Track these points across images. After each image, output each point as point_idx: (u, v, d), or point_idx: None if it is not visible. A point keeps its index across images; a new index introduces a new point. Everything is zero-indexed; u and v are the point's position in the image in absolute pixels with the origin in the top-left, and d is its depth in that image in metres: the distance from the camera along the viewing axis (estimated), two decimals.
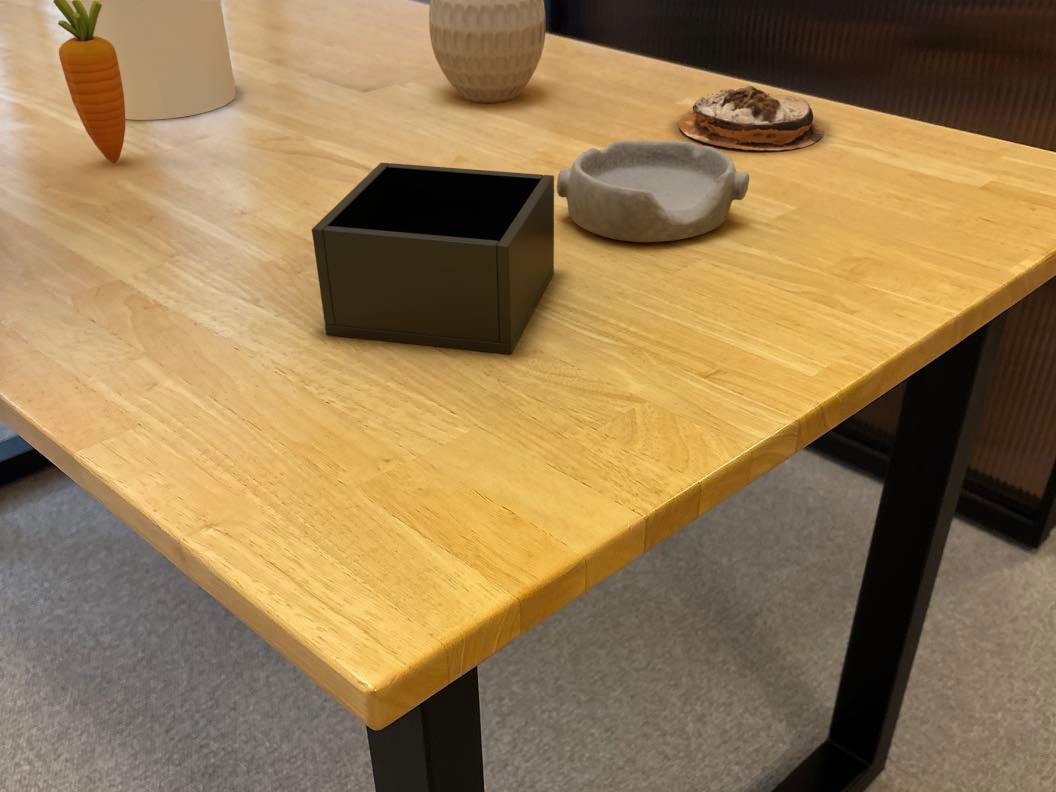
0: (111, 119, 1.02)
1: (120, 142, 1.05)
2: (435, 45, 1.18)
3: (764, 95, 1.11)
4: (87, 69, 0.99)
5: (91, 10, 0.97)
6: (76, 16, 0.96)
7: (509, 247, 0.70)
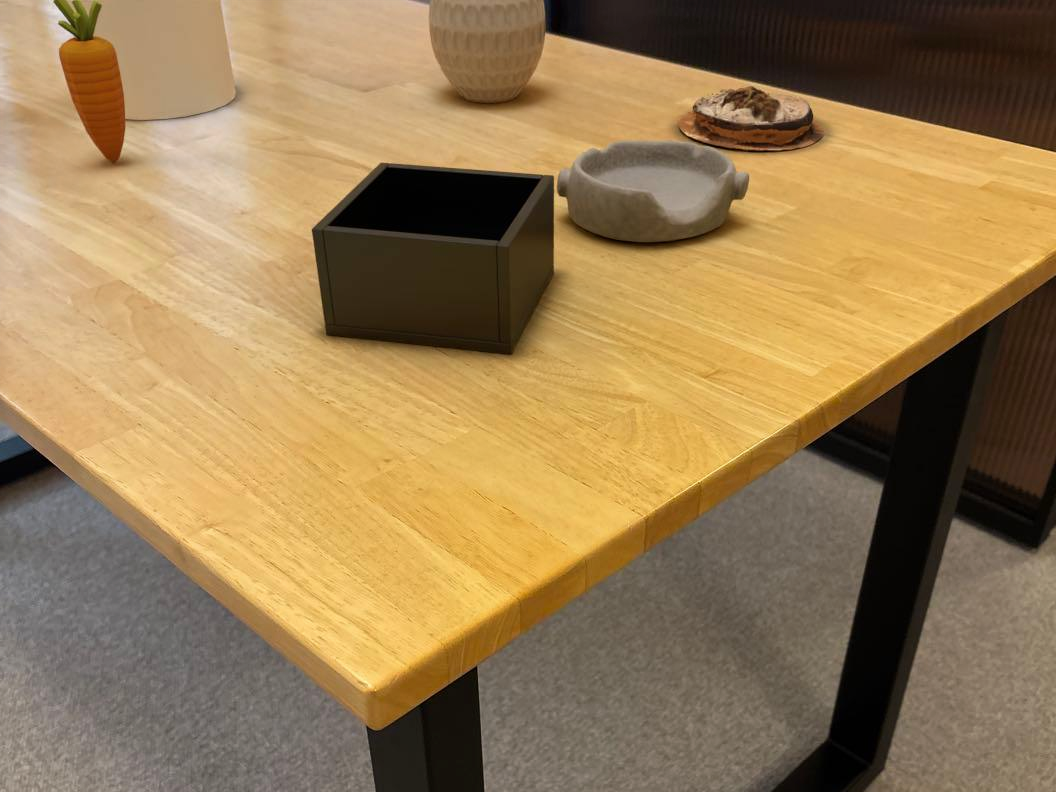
0: (111, 119, 1.02)
1: (120, 142, 1.05)
2: (435, 45, 1.18)
3: (764, 95, 1.11)
4: (87, 69, 0.99)
5: (91, 10, 0.97)
6: (76, 16, 0.96)
7: (509, 247, 0.70)
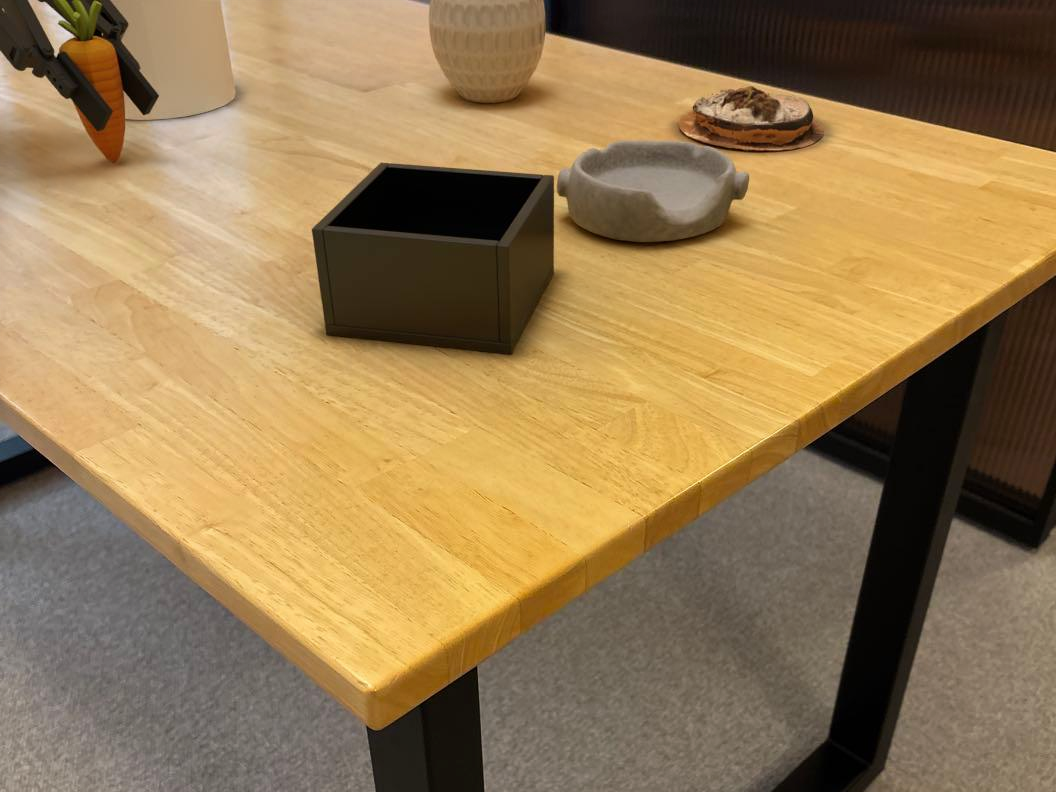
0: (111, 119, 1.02)
1: (120, 142, 1.05)
2: (435, 45, 1.18)
3: (764, 95, 1.11)
4: (87, 69, 0.99)
5: (91, 10, 0.97)
6: (76, 16, 0.96)
7: (509, 247, 0.70)
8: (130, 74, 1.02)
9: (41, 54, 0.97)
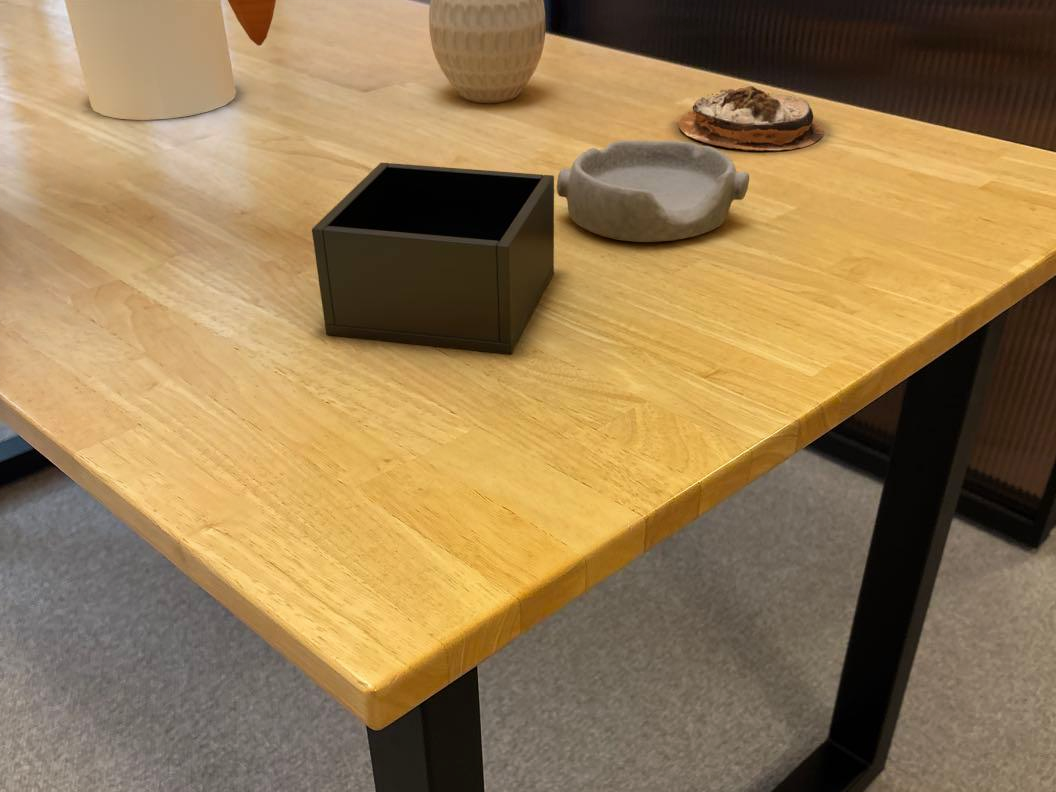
0: None
1: (270, 16, 0.81)
2: (435, 45, 1.18)
3: (764, 95, 1.11)
4: None
5: None
6: None
7: (509, 247, 0.70)
8: None
9: None
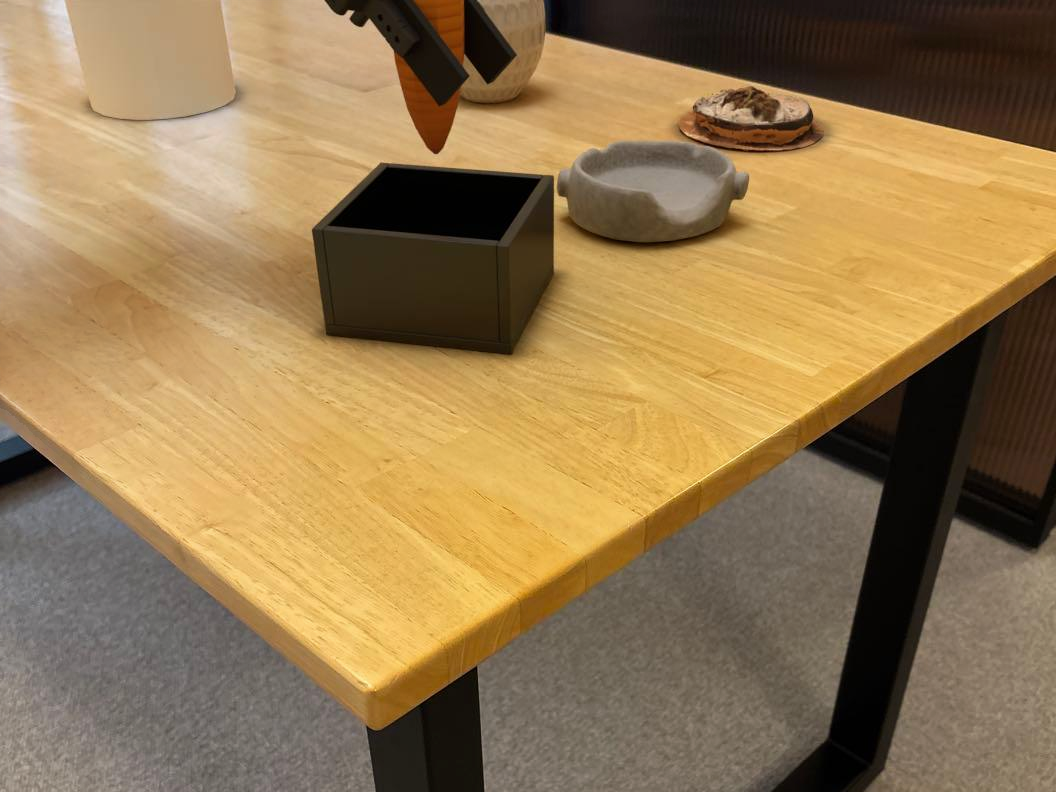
0: None
1: (452, 124, 0.73)
2: None
3: (764, 95, 1.11)
4: (431, 14, 0.67)
5: None
6: None
7: (509, 247, 0.70)
8: (478, 23, 0.70)
9: None
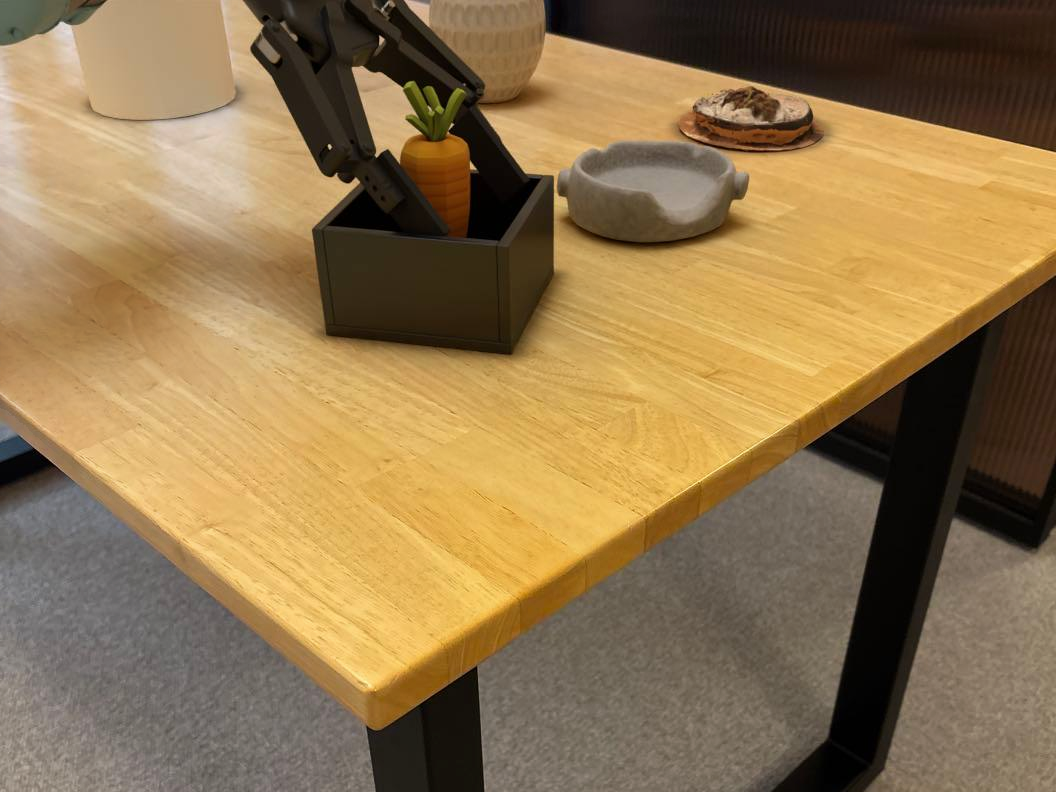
0: None
1: None
2: None
3: (764, 95, 1.11)
4: (440, 180, 0.73)
5: (452, 101, 0.72)
6: (439, 111, 0.70)
7: (509, 247, 0.70)
8: (495, 153, 0.78)
9: (358, 153, 0.69)
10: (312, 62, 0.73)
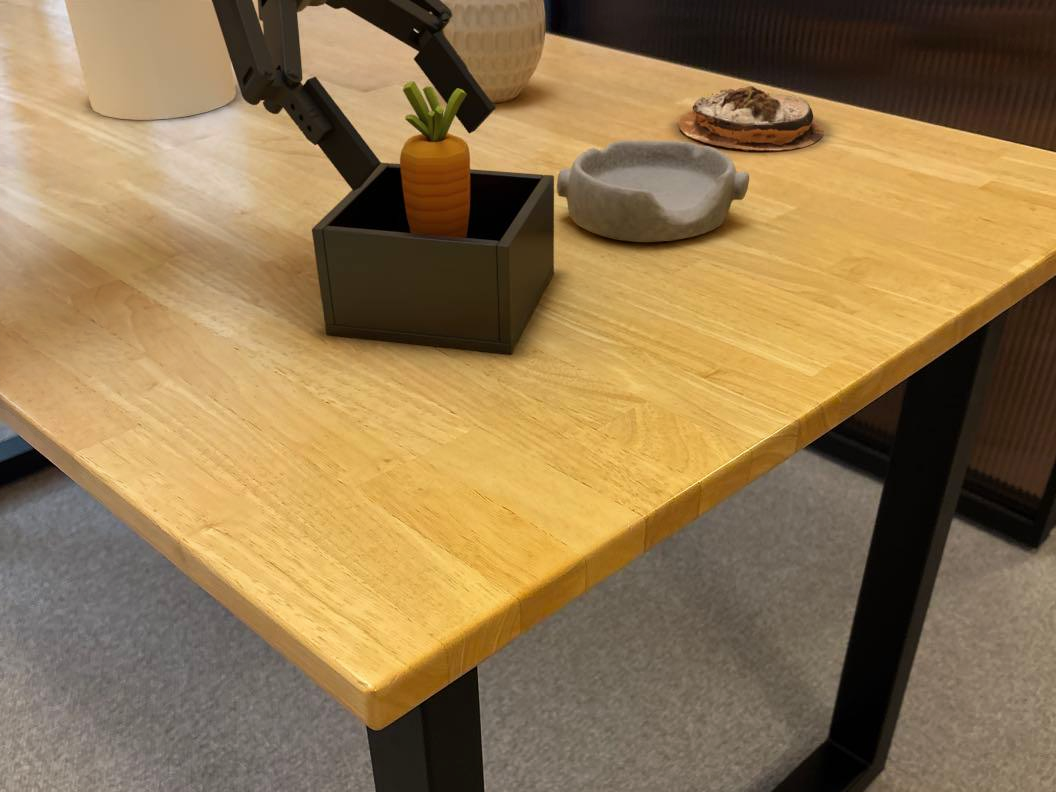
0: None
1: None
2: None
3: (764, 95, 1.11)
4: (440, 180, 0.73)
5: (452, 101, 0.72)
6: (439, 111, 0.70)
7: (509, 247, 0.70)
8: (460, 79, 0.77)
9: (282, 77, 0.67)
10: None
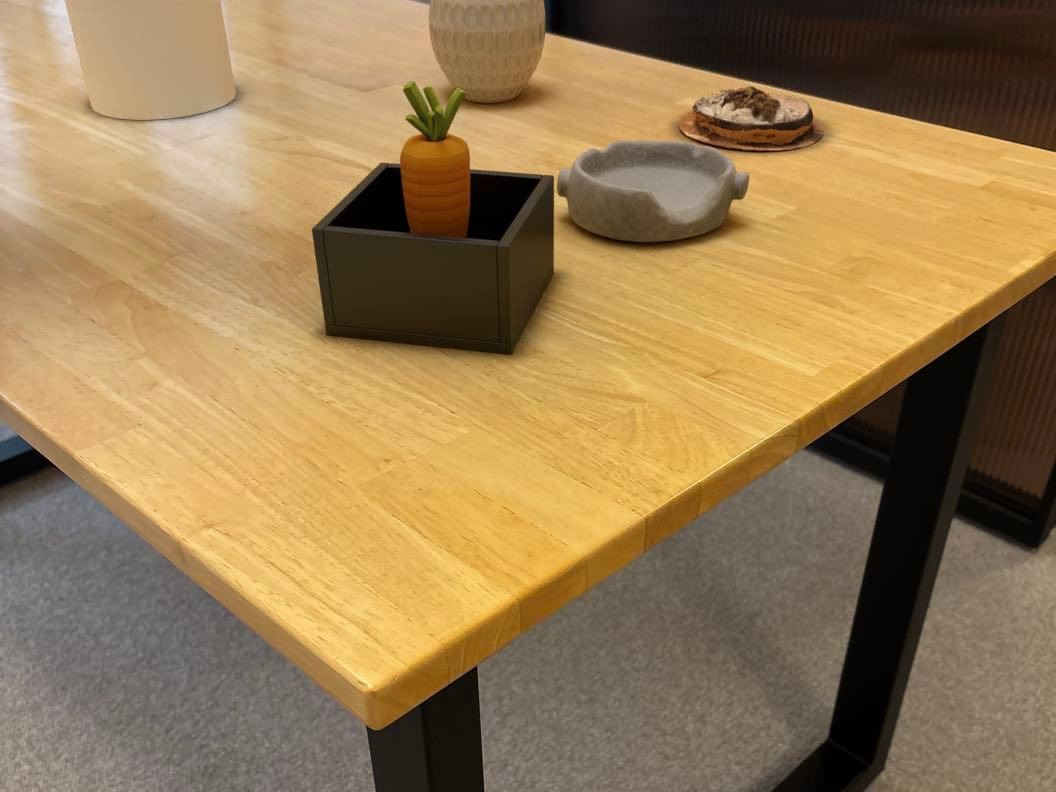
0: None
1: None
2: (435, 45, 1.18)
3: (764, 95, 1.11)
4: (440, 180, 0.73)
5: (452, 101, 0.72)
6: (439, 111, 0.70)
7: (509, 247, 0.70)
8: None
9: None
10: None
